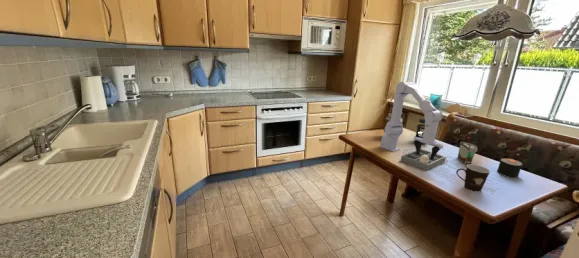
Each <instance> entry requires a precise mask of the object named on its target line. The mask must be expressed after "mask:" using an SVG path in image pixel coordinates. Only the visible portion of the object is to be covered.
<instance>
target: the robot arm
mask: <svg viewBox="0 0 579 258" xmlns="http://www.w3.org/2000/svg"><path fill="white" fill-rule="evenodd" d="M408 95H412V97H413V98H414V99H415V101H416V102H417V103H418V108H420V110H421V112H422V113H423V114H424V116H423V118H425V127H424V128H425V129H424V131H423V132H424V134H423V138H419V137H415V136H414V137H413V145H414V148H415V151H416V155H419V154H420V149H422V145H429V146H432V147H431V152H432V154H431V158H430V159H431V160H433V159H434V157H435V155H436V154H438V152H439V151H440V150H441V149H443V148H444V144H442V143H440V142H437V141H435V140H436V136H437V133H438V128H439V123H440V122H441V121H442V120H443V117H444V115H443V112H442V111H441V110H438V109H437V108H436V107H435V106H434V104H432V101H431V100H429V99H426V98H425V97H424V95H423V94H422V92H421V91H420V89H419V85H418V83H417V82H415V81H400V82H397V84H396V88H395V92H394V98H393V106H392V110H391V111H392V112H391V113H392V117H391V121H389V122H388V123H387V124H385V127H384V128H385V132H384V134H383V135H382V137H381V142H380V146H379V148H382V149H384V150H387V151H390V152H395V151H398V150H400V148H398V143H399V138H400V137H401V135H402V134H403V132H404V128H403V122H402V123H401V122H400V119H401V118H402V113H403V112H402V111H403V106H404V101H405V97H407V96H408ZM414 141H415V142H414ZM422 143H424V144H422Z"/></svg>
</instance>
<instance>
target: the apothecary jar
mask: <svg viewBox="0 0 579 258" xmlns="http://www.w3.org/2000/svg"><path fill="white" fill-rule="evenodd" d="M391 117H392V112H391V113H390V112H389V113H388V115H387V116H386V117H385V121H386V124H387V123H388V122H389V121H391ZM400 122H401V123H402V124H403V118H402V117H401V119H400ZM386 124H385V125H386ZM383 132H384V133H385V127H383Z"/></svg>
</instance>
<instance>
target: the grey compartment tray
mask: <svg viewBox="0 0 579 258" xmlns="http://www.w3.org/2000/svg"><path fill="white" fill-rule="evenodd" d="M431 154H432V151H428V150H427V149H426V150H425V149H423V148H421V149H420V154H419V155H416V150H413V151H411V152H408V153H405V154H402V155H401V157H400V162H403V163H406V164H408V165H411V166H413V167H416V168H418V169H421V170H424V171H428V170H430V169H432V168H434V167H437V166H439V165H442V164H443V163H445V162H446V158H447V157H446V156H444V155H441V154H439V153H437V154H436V155H435V157H434V159H433V160H431V159H430V158H431ZM422 155H427V156H428V157H429V162H428V164H424V163H422V162H419V160H420V157H421V156H422Z"/></svg>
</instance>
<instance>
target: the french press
mask: <svg viewBox="0 0 579 258" xmlns="http://www.w3.org/2000/svg"><path fill="white" fill-rule="evenodd" d="M418 123H421V124H417V125H416V132H415V136H414V137H419V138H423V134H424V129H425V118H424V117H418ZM421 130H422V131H421ZM414 142H415V141H413V143H414ZM422 145H425V144H424V143H422Z"/></svg>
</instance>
